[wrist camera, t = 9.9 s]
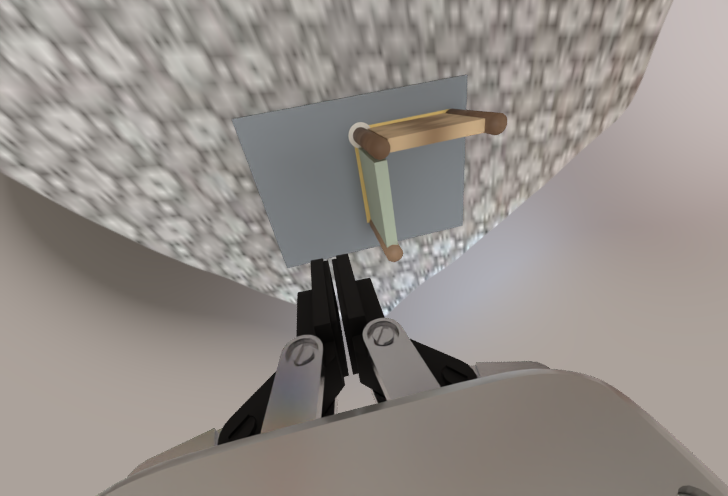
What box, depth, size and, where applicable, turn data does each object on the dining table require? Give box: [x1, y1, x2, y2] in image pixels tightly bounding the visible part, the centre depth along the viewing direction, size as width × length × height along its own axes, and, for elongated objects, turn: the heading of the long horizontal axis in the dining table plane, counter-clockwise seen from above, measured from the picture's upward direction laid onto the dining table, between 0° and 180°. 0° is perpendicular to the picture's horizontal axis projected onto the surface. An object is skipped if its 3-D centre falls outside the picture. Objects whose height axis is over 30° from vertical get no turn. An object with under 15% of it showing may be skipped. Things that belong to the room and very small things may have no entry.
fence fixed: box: [353, 109, 507, 160], centre depth 28 cm, size 13×2×9 cm, turn 99°
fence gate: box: [358, 147, 403, 262], centre depth 30 cm, size 11×2×9 cm, turn 11°
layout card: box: [232, 75, 467, 268], centre depth 34 cm, size 26×19×1 cm
